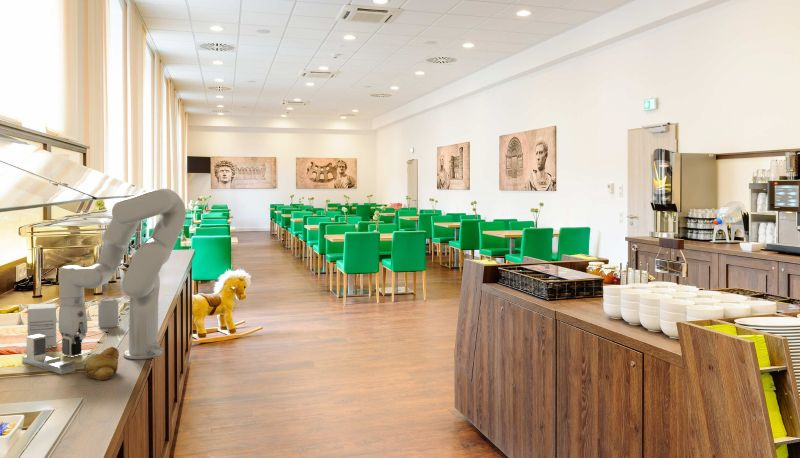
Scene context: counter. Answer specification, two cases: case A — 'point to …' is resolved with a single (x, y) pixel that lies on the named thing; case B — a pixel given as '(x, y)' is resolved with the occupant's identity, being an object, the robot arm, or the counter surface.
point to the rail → (44, 356)
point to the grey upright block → (108, 313)
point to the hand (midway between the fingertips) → (72, 352)
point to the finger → (67, 345)
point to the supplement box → (43, 321)
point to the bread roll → (102, 364)
